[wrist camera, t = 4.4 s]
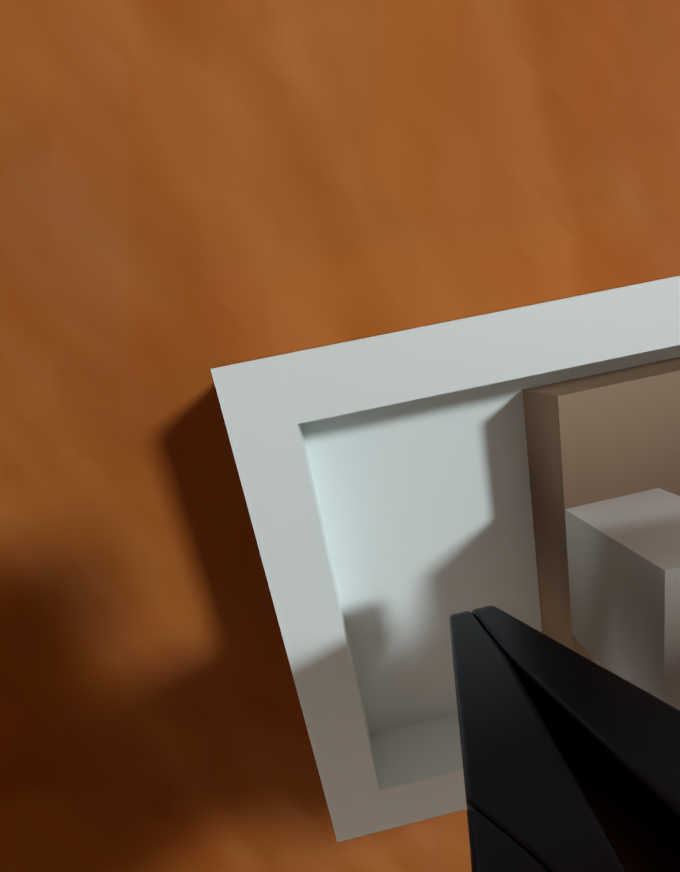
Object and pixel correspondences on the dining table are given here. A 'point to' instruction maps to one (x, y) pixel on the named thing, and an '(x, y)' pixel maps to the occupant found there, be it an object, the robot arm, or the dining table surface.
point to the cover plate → (595, 457)
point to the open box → (409, 520)
